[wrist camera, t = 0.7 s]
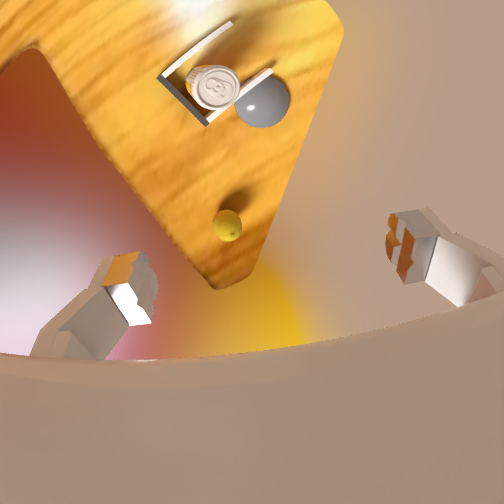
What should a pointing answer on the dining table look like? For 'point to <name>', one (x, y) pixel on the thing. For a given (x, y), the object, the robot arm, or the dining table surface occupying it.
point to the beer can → (213, 86)
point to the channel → (162, 78)
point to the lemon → (227, 225)
